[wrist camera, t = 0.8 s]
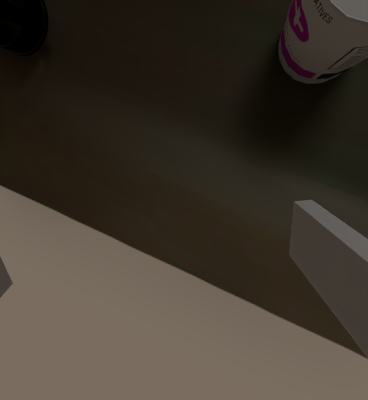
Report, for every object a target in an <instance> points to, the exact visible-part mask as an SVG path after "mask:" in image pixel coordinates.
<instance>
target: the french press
mask: <svg viewBox="0 0 368 400" xmlns="http://www.w3.org/2000/svg"><path fill="white" fill-rule="evenodd" d="M24 5H25V10H24V9H22V8H20V7H19V6H17V5H15V4H13V3H11V2H9V1H8V0H0V22H1V20H2V18H4V19H6V20H8V21H10V22H12V23H15V24H17V25H19V26H21V27H23V28H22V30H21V32H20V34H19V36H18V37H17V38H16V39H15V40H14V41H13V42H11V41H10V40H8V39H7V37H6V36H5V35H4V33H3V31H2V29H1V26H0V47H1V48H4V49H7V50H8V51H10V52H12V53H14V54H17V55H20V56H27V55H31V54H33V53H35V52H36V51H37V50H38V49H39V48H40V47H41V46H42V44H43V42H44V40H45V38H46V34H47V28H48V15H47V10H46V6H45V3H44V0H24Z"/></svg>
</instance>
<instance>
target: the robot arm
mask: <svg viewBox="0 0 368 400" xmlns="http://www.w3.org/2000/svg"><path fill="white" fill-rule="evenodd" d="M289 255H290V257H291V258H292V259H293V261H294V262H295V263H296V265H297V266H298V267H299V268H300V270H301V271H302V272H303V274H304V275H305V276H306V278H307V279H308V280H309V282H310V283H311V284H312V286H313V287H314V288H315V290H316V291H317V292H318V293H319V295H320V296H321V297H322V299H323V300H324V301H325V303H326V304H327V305H328V307H329V308H330V309H331V311H332V312H333V313H334V314H335V316H336V317H337V318H338V320H339V321H340V322H341V324H342V325H343V326H344V328H345V329H346V330H347V332H348V333H349V334H350V336H351V337H352V338H353V339H354V341H355V342H356V343H357V345H358V346H359V347H360V349H361V350H362V351H363V353H364V354H365V355H366V357H367V358H368V239H366V238H365V237H364V236H362V235H361V234H359V233H358V232H357V231H355V230H354V229H352V228H351V227H350V226H348V225H347V224H345V223H344V222H342V221H341V220H340V219H338V218H337V217H335V216H334V215H333V214H331V213H330V212H328V211H327V210H325V209H324V208H323V207H321V206H320V205H318V204H317V203H316V202H314V201H313V200H304V201H295V202H294V208H293V218H292V229H291V239H290V250H289ZM12 284H13V283H12V281H11V279H10V276H9V274H8V273H7V270H6V268H5V266H4V264H3V262H2V259H1V257H0V297H1V296H2V295H3V294H4V293H5V292H6V290H7V289H8V288H9V287H10V286H11V285H12Z"/></svg>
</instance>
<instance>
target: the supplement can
mask: <svg viewBox="0 0 368 400" xmlns="http://www.w3.org/2000/svg"><path fill="white" fill-rule="evenodd" d="M278 52H279V60H280V62H281V64H282V67H283V69H284V71H285V72H286V73H287V74H288V75H290V76H291V77H292V78H293V79H294V80H297V81H300V82H303V83H306V84H312V83H323V82H325V81H328V80H330V79H333V78H335V77H337V76H338V75H340V74H342V73H343V72H345V71H346V70H348V69H350V68H351V67H353V66H354V65H356V64H358V63H359V62H361V61H362V60H364V59H366V58H367V57H368V0H292V1H291V4H290V7H289V10H288V13H287V16H286V19H285V22H284V25H283V28H282V31H281V35H280V39H279V43H278Z"/></svg>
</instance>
